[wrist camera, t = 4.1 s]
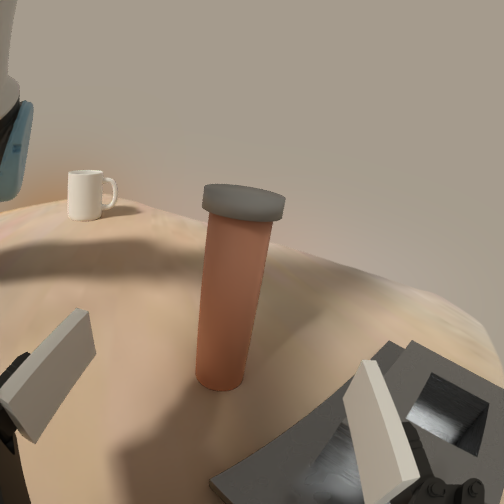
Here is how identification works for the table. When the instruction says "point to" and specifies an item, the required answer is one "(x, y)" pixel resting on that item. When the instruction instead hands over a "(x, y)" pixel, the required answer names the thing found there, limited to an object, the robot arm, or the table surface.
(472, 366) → the table surface
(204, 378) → the pin
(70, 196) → the cup
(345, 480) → the hitch plate
